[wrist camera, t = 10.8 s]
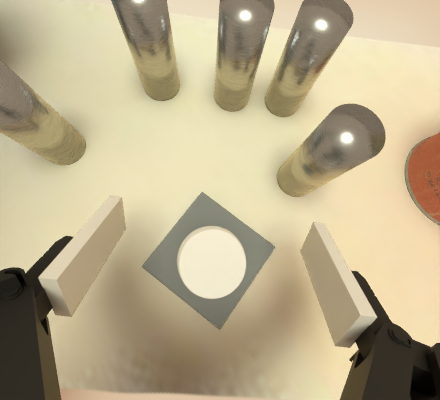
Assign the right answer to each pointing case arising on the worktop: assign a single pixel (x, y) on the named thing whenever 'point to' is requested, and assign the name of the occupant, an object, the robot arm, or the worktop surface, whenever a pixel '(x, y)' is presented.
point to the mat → (168, 249)
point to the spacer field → (222, 85)
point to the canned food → (425, 176)
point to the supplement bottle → (211, 262)
